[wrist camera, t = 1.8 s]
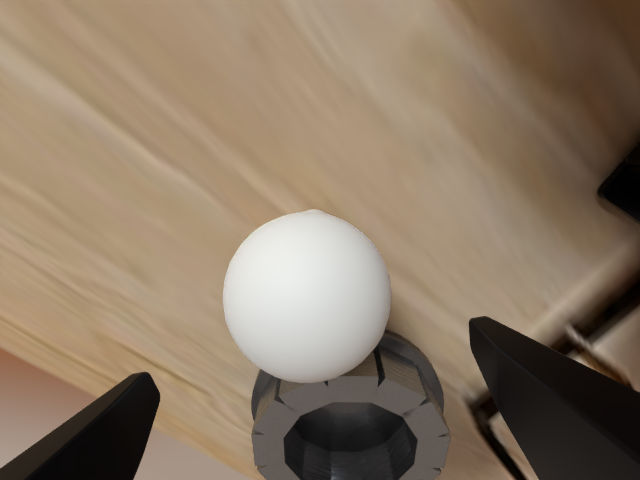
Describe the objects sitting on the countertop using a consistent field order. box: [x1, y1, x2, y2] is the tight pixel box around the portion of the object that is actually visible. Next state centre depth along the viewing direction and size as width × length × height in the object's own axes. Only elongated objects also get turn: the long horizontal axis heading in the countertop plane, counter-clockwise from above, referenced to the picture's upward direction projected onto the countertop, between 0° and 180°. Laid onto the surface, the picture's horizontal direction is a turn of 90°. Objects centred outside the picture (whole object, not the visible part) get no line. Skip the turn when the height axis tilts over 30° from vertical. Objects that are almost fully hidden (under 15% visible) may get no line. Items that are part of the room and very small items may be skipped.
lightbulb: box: [223, 209, 391, 383], centre depth 14 cm, size 6×6×11 cm
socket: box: [251, 329, 450, 480], centre depth 23 cm, size 14×14×4 cm
